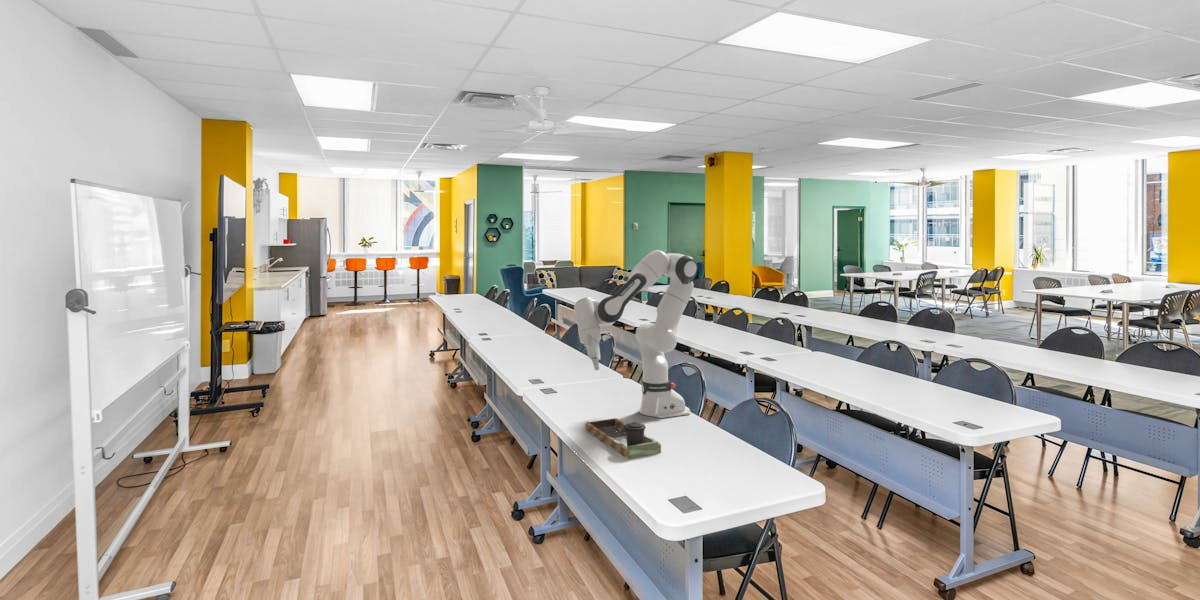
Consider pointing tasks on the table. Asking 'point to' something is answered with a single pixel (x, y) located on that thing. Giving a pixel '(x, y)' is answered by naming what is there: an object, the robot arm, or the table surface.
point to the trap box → (631, 451)
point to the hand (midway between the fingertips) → (597, 370)
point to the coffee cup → (634, 433)
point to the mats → (613, 432)
